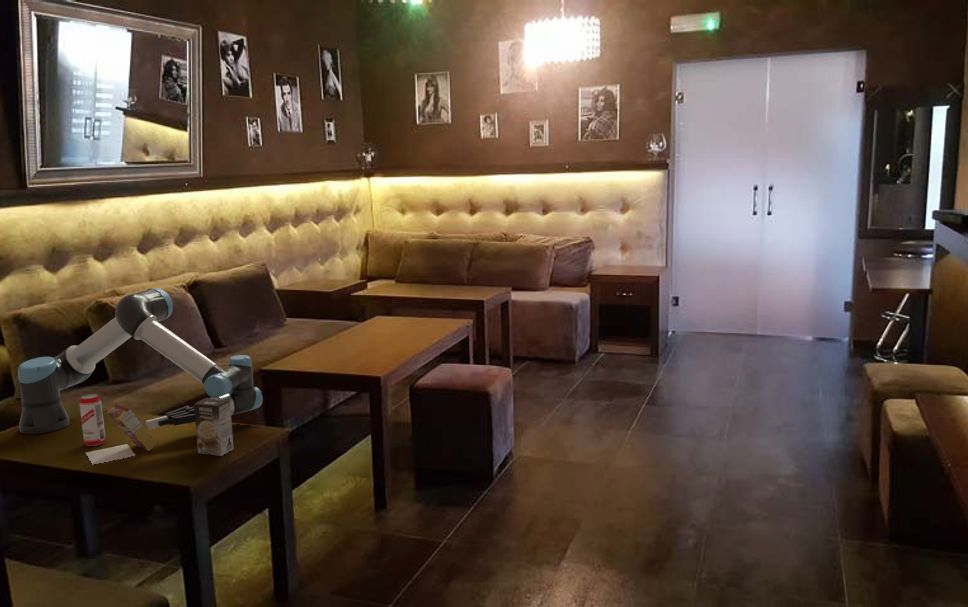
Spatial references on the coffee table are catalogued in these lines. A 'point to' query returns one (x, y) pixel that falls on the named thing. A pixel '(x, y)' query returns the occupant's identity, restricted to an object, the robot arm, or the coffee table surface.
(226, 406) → the coffee box
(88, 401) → the beer can
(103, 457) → the mat
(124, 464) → the coffee table surface
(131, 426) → the candy box
